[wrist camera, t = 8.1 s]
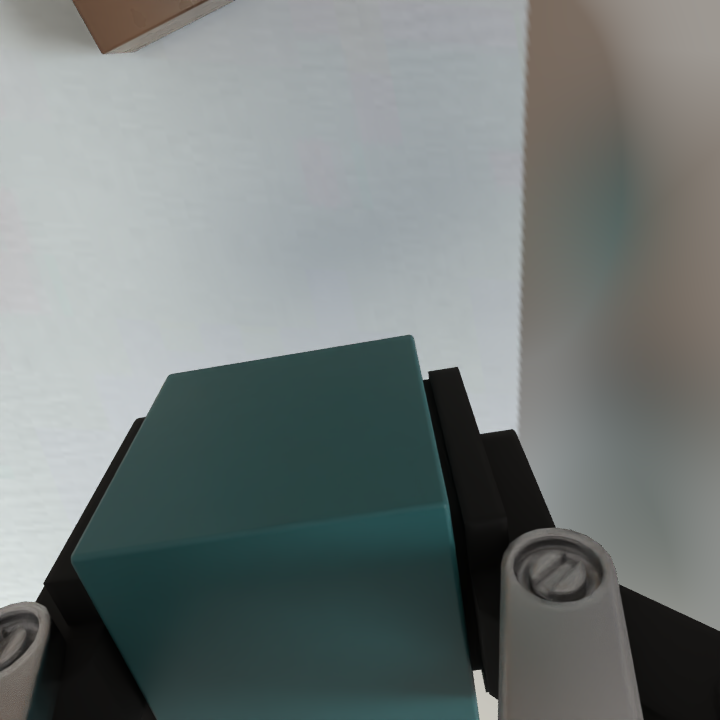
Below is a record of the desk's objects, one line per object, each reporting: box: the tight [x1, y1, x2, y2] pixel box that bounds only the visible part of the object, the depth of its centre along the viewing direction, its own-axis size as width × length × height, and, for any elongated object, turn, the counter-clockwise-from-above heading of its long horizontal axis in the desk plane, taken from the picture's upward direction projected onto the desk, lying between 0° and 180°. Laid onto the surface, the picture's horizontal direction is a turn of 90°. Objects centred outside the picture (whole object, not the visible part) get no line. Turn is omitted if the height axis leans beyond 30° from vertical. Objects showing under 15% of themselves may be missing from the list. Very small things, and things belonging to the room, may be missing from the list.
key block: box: [71, 335, 479, 720], centre depth 10 cm, size 4×4×4 cm
